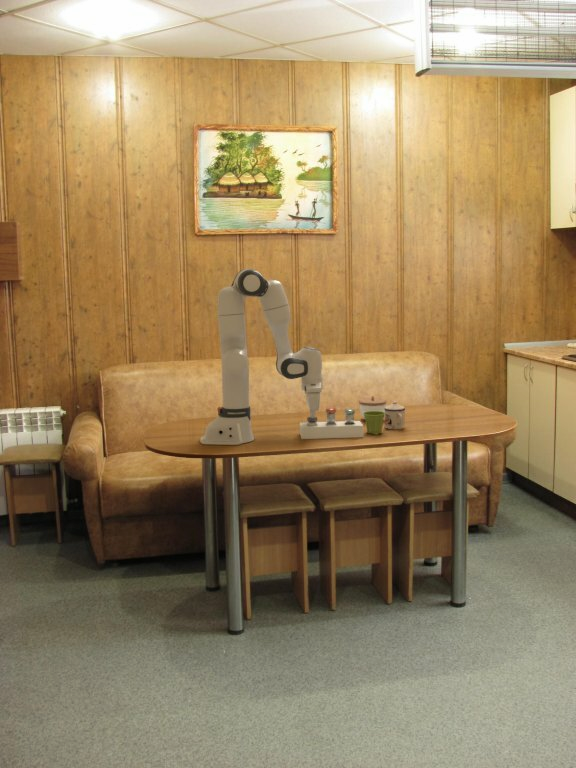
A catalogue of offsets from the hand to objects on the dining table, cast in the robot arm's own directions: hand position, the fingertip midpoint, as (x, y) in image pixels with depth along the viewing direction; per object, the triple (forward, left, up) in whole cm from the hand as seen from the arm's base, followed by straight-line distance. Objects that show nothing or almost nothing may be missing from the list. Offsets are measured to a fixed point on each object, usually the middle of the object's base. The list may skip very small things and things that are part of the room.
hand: (312, 417), depth 341 cm
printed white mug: (+38, +11, -8) cm, 40 cm away
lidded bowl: (+31, +31, -8) cm, 44 cm away
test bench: (+8, 0, -8) cm, 11 cm away
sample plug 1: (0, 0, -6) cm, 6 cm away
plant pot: (+27, +3, -8) cm, 28 cm away
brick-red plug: (+8, 0, -3) cm, 8 cm away
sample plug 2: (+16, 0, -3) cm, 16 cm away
